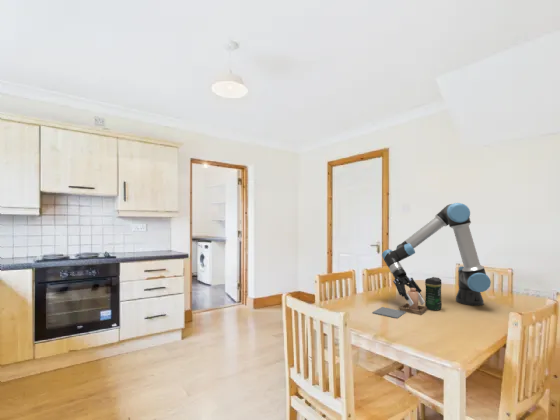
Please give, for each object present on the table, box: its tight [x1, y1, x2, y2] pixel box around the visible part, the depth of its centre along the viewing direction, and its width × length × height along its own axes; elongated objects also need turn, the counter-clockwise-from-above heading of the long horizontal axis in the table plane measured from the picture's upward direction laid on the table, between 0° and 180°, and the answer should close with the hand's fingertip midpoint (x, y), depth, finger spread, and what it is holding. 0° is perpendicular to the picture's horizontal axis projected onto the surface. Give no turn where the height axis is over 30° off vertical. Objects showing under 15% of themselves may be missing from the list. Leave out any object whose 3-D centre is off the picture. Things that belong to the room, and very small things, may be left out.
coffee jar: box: [424, 276, 443, 311], centre depth 182 cm, size 10×8×19 cm
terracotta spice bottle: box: [407, 288, 419, 310], centre depth 178 cm, size 5×5×13 cm
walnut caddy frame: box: [398, 302, 428, 316], centre depth 178 cm, size 12×12×2 cm
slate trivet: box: [372, 306, 407, 319], centre depth 173 cm, size 14×14×1 cm
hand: (417, 304), depth 175 cm, fingers open, 8 cm apart
